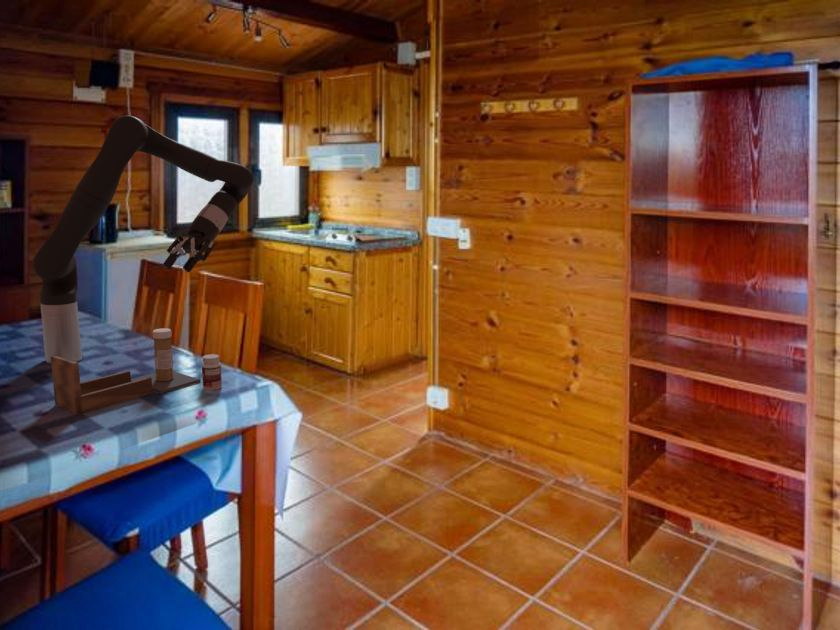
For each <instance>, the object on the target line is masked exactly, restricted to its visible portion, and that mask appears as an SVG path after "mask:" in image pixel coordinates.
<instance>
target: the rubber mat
mask: <svg viewBox="0 0 840 630" xmlns="http://www.w3.org/2000/svg"><path fill="white" fill-rule="evenodd" d="M173 376H174V378H173V379H172V380H170V381H157V380H156V372H153V373H149V374H146V375H142V376H138V377H135V378H131V382H133V381H136V380H140V379H144V378H148V377H150V378H152V392H155V393H157V394H165V393H168V392H171V391H175V390H178V389H181V388H185V387H187V386H191V385H195V384H199V383H202V382H201V379H200V378H197V377H195V376H190V375H188V374H185V373H184V374H183V373H180V372H177V371H174V370H173Z"/></svg>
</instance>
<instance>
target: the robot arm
mask: <svg viewBox="0 0 840 630" xmlns="http://www.w3.org/2000/svg"><path fill="white" fill-rule="evenodd" d="M136 152H141V153H145V154H148V155H152V156H153V157H154V156H155V157H157V158H159V159H161V160H164V161H166V162H168V163H170V164H171V165H173V166H175V167H177V168H179V169H180V170H181V171H182V170H183V171H185V172H186V173H188V174H190V175H193V176H195V177H197V178H199V179H201V180H204V181H207V182H209V183H214V182H216V181H221V182H223V185H222V186H221V188H220V189H219V191H217V192H215V193H214V194H213V196H211V198H210V199H209V201H208V202H207V203H206V205H205V206H204V207H203V208H201V210H199V212H198V214H197V215H196V216H195V218H194V219H193V220H192V222H191V223H190V225H189V226H188V227H187V232H188V234H187V235H186V236H185V237H183V236H182V235H180V234H179V235H178V236H177V237H176V238H175V239H174V241H172V243H171V244H170V245H169V247H168V248H167V249H166V252H167V253H168V254H169V255H168V257H167V258H166V259H165V261H164V262H163V266H164V268H165V269H166V270H170V269H172V268H173V267H172V266H173V265H174V264H175V263H176V261H177V260H178V259H179V258H180V257H182V256H183V257H185V256H186V255H187V254H190V255H191V256H189V257H188V259H187V261H186V262H185V263H184V265H183V266H182V269H183V270H184V271H185V272H186V273H190V272H191V271H192V270H193V268H194V267H195V266H196V264H197V263H199V262H201V261H202V262H205V261H206V260H207V259H208V257H209V255H210V254H211V252H212V251H213V249H214V248H215V246H216V244H215V243H214V241H215V240H216V239H217V237H218V235H219V234H220V233H221V231H222V230H223V228H224V227H225V225H226V224H227V221H229V219H230V217H231V215H233V213H234V212H235V210H236V208H237V207H238V206H239V205H240V204H241V203H242V202H243V200H244V199H245V197H246V196H247V195H248V194H249V192H250V190H251V187H252V186H253V183H254V175H253V172H251V170H250V169H249V168H247V167H246V166H244V165H242V164H239V163H236V162H232V161H227V160H223V159H219V158H216V157H214V156H211V155H210V154H207V153H205V152H203V151H201V150H198V149H196V148H193V147H191V146H189V145H186V144H184V143H180V142H178V141H176V140H174V139H172V138H169V137H167V136H165V135H164V134H162V133H160V132H158V131H157V130H156V129H153V128H152V127H151V126H149V125H147V124H146V123H145V122H144V121H143V120H141V119H140V118H138V117H136V116H132V115H129V114H128V115H122V116H119V117H117V118H116V119H115V120H113V122H112V123H111V125H110V127H109V129H108V132H107V135H106V136H105V140H104V142H103V143H102V146H101V148H100V150H99V152H98V154H97V155H96V157H95V159H94V160H93V162H92V163H91V164H90V165H89V167H88V168H87V170H86V171H85V173H84V174H83V176H82V178H81V179H80V180H79V182H78V183H77V186H75V189H74V190H73V192H72V194H71V196H70V197H69V200H68V201H67V203H66V205H65V207H64V208H63V211H62V213H61V215H60V216H59V219H58V221H57V223H56V225H55V227H54V229H53V230H52V232H51V234H50V235H49V236H48V237H47V239H46V240H45V242H44V243H43V244H42V246H41V247H40V248H39V250H37V252H36V253H35V255H34V257H33V259H32V268H33V270H34V272H35V274H36V275H37V276H38V277H39V278H40V279H41V283H42V284H41V291H40V292H39V303H40V315H41V323H42V337H43V347H44V358H45V363H47V364H49V365H51V356H54V355H55V356H59V357H62V358H65V359H68V360H71V361H74V362H79V361H81V360H83V359H82V358H83V355H82V353H83V352H82V344H81V343H82V342H81V332H80V321H79V320H80V319H79V309H78V299H77V298H78V297H77V294H78V289H79V288H78V285H79V284H78V270H77V269H78V267H77V260H76V257H75V254H76V252H77V250H78V248H79V246H80V244H81V243H82V241H83V240H84V239H85V238H86V236H87V235H88V234H89V233H90V232H91V231H92V229H94V228H95V226H96V225H97V224H98V223H99V221H100V220H101V219H102V217H103V215H104V214H105V213H106V212H107V210H108V207H109V206H110V204H111V202H112V201H113V198H114V196H115V194H116V192H117V189H118V187H119V183H120V180H121V178H122V174H123V172H124V170H125V168H126V166H128V164H129V162H130V161H131V159H132V158H133V156H134V155H135V154H136Z"/></svg>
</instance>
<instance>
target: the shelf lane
mask: <svg viewBox="0 0 840 630" xmlns="http://www.w3.org/2000/svg"><path fill="white" fill-rule="evenodd" d="M50 365H51V375H52V384H53V395H54V405H55V406H56V405H57V406H56V407H58V406H60V407H59V408H61V407H62V408H61V409H64V408H65V409H64V410H66V409H67V410H66V411H69V410H70V411H69V412H71V411H72V412H71V413H73V414H76V413H77V415H81V413H82V414H85V413H88V412H87V411H89V412H92V411H95V410H94V409H96V410H98V408H99V409H102V408H101V407H103V408H106V407H109V405H110V406H113V405H116V404H120V403H122V402H123V403H124V402H127V401H130V400H133V399H136V398H141V397H143V396H148V395H151V394H153V391H152V378H150V377H148V378H144V379H140V380H136V381H133V382H131V379H132V375H131V371H130V370H126V371H122V372H117V373H114V374H113V373H112V374H108V375H105V376H102V377H96V378H94V379H93V378H91V379H90V380H89V379H88V380H86V381H81V379H80V377H81V375H80V364H79V361H77V362H74V361H71V360H68V359H65V358H62V357H59V356H55V355H54V356H51V364H50ZM105 406H106V407H105ZM91 410H92V411H91ZM84 412H85V413H84Z"/></svg>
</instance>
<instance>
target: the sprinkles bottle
mask: <svg viewBox="0 0 840 630" xmlns="http://www.w3.org/2000/svg"><path fill="white" fill-rule="evenodd" d="M172 336H173V335H172V330H171V329H170V328H165V327H163V328H162V327H161V328H156V329H153V330H152V338H153V347H154V348H153V349H154V353H153V355H154V367H155V373H156V380H157V381H170V380H172V379H173V378H174V376H173V371H174V369H173V368H174V359H173V348H172Z"/></svg>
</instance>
